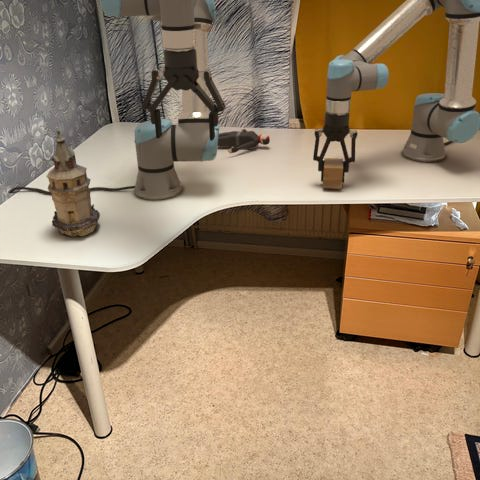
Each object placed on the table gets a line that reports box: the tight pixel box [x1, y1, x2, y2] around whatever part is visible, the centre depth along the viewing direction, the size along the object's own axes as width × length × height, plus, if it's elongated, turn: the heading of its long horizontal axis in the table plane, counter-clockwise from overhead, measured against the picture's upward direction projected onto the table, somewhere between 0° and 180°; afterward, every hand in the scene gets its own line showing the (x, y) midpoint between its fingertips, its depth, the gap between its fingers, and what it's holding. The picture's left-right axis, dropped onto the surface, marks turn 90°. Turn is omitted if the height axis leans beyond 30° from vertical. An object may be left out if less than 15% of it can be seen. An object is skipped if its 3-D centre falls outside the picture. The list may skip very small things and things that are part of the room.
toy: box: [218, 128, 271, 155], centre depth 214 cm, size 26×6×30 cm
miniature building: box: [46, 129, 101, 237], centre depth 148 cm, size 13×14×30 cm
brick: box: [322, 157, 344, 190], centre depth 177 cm, size 9×6×7 cm
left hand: (185, 137), depth 133 cm, fingers open, 13 cm apart
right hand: (332, 180), depth 178 cm, fingers closed on brick, 6 cm apart
